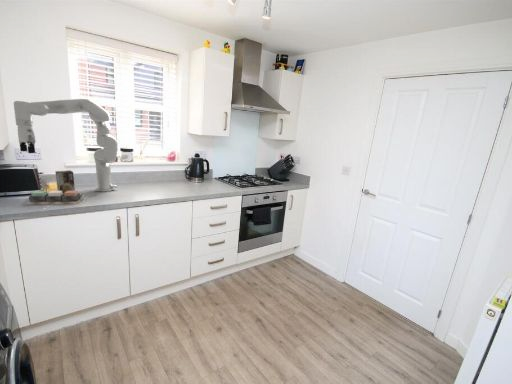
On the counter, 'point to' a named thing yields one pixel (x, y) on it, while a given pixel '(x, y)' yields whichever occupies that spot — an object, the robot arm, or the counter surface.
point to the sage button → (39, 193)
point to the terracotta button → (71, 193)
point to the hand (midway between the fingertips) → (27, 152)
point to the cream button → (55, 193)
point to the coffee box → (65, 181)
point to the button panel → (55, 199)
